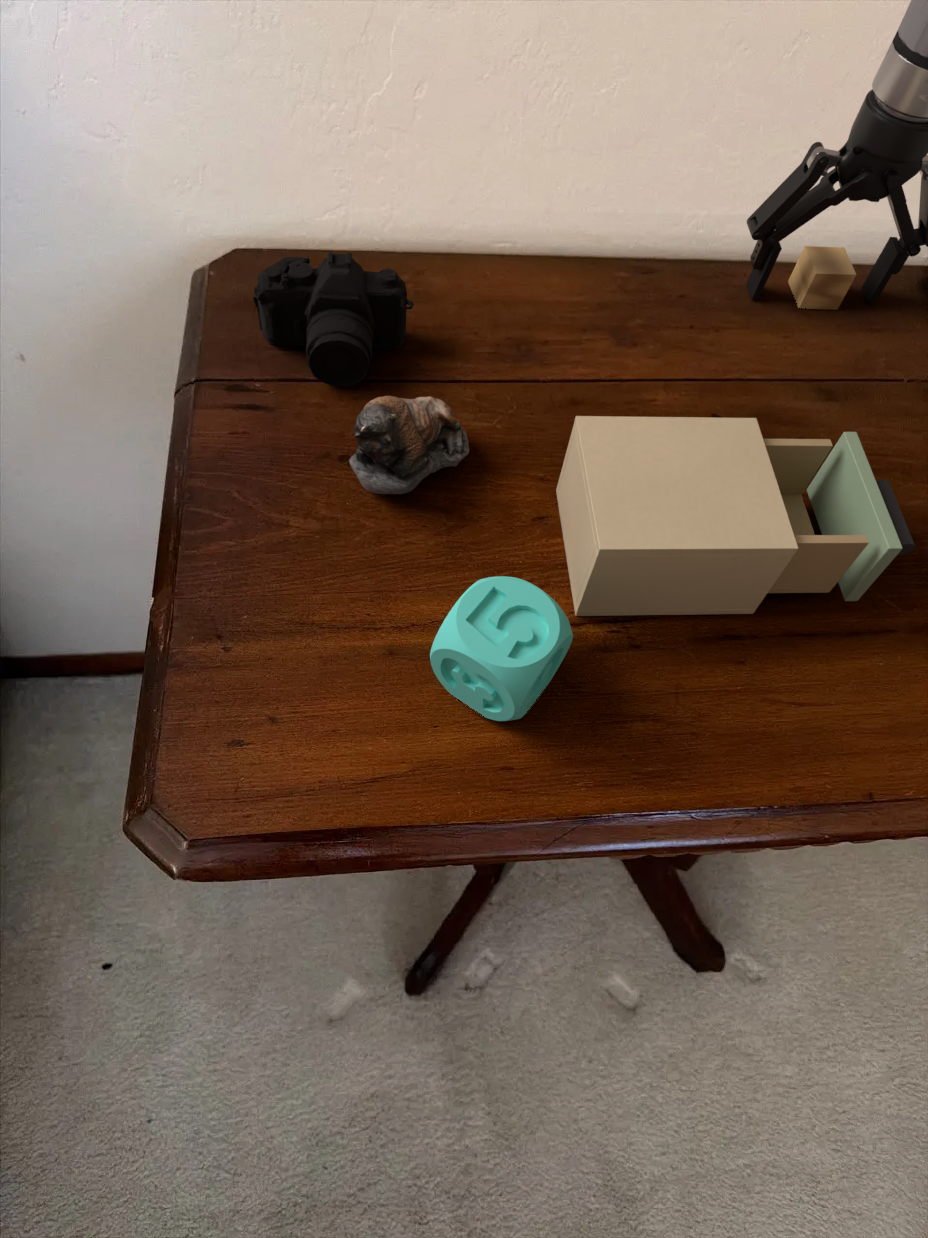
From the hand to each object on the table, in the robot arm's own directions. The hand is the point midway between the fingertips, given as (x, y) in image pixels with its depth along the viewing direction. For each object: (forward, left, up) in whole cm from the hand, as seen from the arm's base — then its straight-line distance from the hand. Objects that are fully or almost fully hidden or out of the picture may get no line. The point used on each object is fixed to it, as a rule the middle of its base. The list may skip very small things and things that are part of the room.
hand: (810, 294), depth 99 cm
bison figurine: (+46, +26, 0) cm, 53 cm away
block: (0, 0, 0) cm, 0 cm away
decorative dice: (+40, +47, 0) cm, 62 cm away
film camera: (+53, +11, 0) cm, 54 cm away
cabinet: (+25, +35, 0) cm, 43 cm away
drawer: (+13, +35, +1) cm, 37 cm away
